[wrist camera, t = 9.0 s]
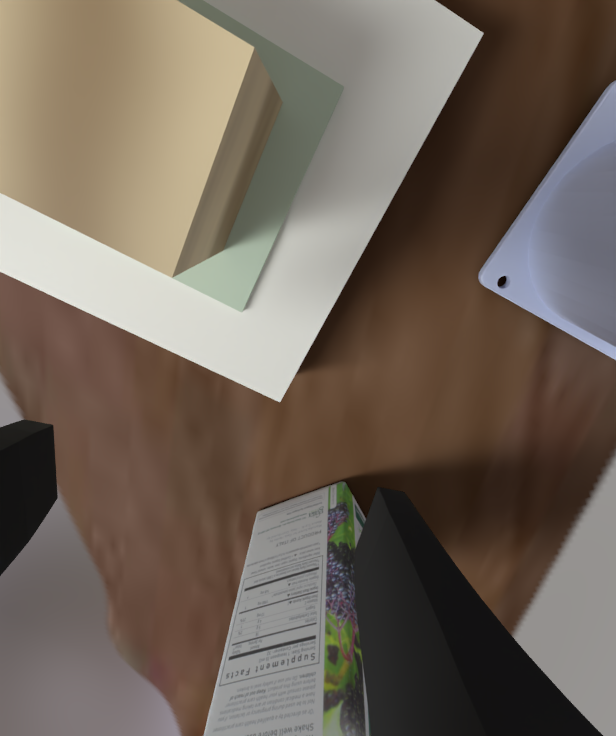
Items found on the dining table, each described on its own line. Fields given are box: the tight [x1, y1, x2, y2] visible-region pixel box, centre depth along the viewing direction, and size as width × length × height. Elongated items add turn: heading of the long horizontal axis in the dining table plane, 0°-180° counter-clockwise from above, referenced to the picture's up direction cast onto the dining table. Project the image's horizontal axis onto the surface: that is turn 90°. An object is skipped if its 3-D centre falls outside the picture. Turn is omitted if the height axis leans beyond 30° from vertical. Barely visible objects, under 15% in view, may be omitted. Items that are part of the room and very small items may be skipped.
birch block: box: [0, 0, 283, 278], centre depth 10 cm, size 5×5×5 cm
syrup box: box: [204, 482, 371, 736], centre depth 16 cm, size 6×6×14 cm
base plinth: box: [0, 0, 484, 402], centre depth 14 cm, size 14×14×3 cm
